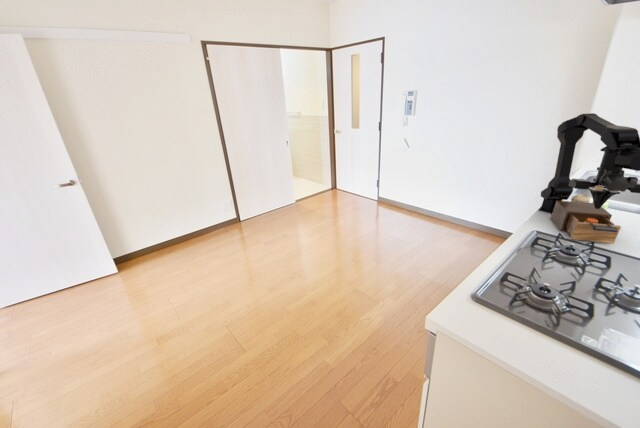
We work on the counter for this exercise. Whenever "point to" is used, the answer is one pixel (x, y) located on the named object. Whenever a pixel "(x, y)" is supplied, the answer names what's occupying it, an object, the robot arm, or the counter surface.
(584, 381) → the counter surface
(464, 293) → the counter surface
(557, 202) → the cabinet
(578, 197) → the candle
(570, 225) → the drawer
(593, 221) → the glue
